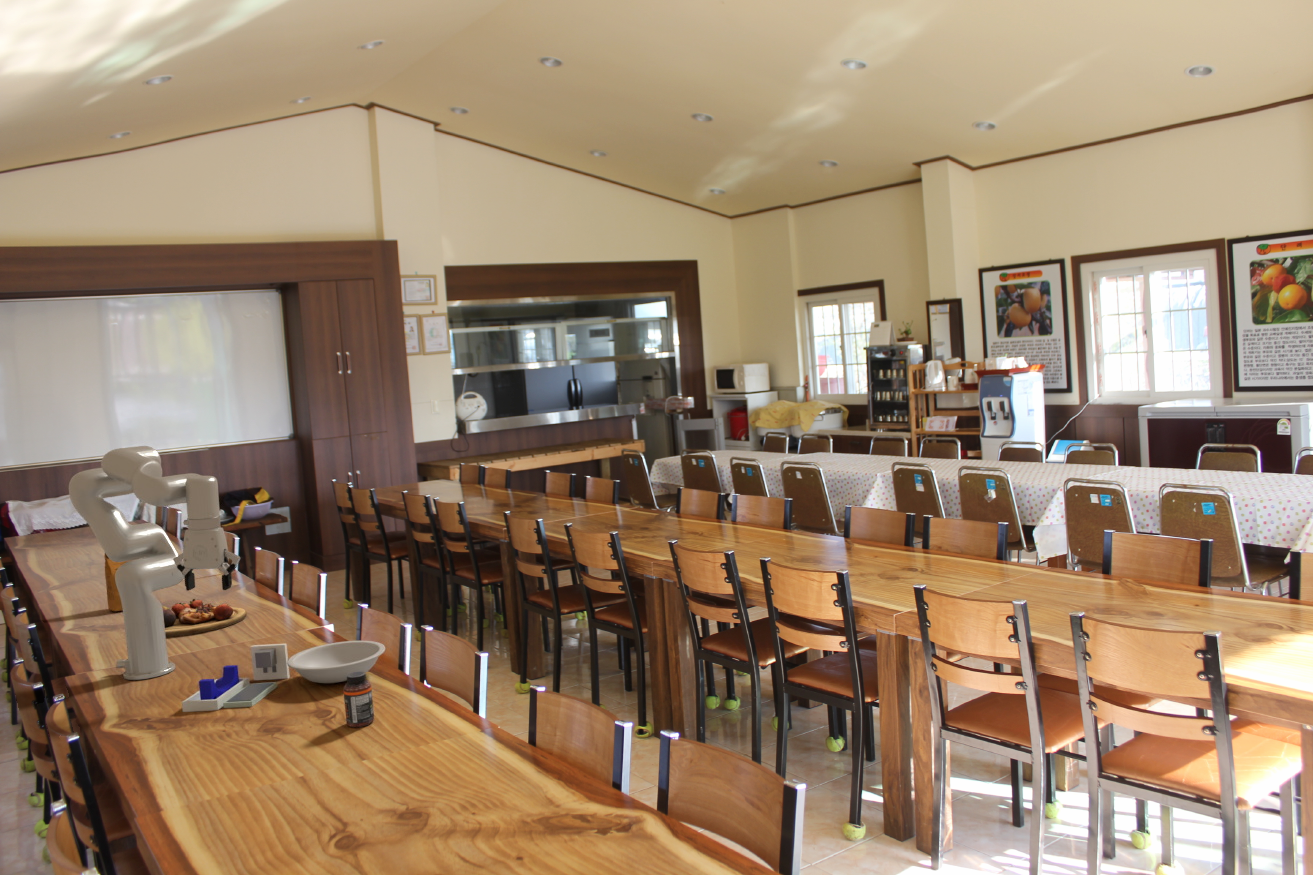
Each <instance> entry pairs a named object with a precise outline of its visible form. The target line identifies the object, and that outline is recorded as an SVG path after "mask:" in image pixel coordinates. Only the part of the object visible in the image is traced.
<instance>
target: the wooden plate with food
mask: <svg viewBox="0 0 1313 875" xmlns="http://www.w3.org/2000/svg"><path fill="white" fill-rule="evenodd" d="M162 608H163V616H164V626H165V636H166V638H169V637H170V638H171V637H180V636H187V635H189V636H190V635H193V634H200V633H205V632H210V631H214V630H218V629H222V628H226V627H229V626H232V625H235V624H237V623H239V622H241V621H243V620H244V619H245V618H247V615H248V614H247V611H246V609H244V608H242V607H233V606H230V605H229V604H227V603H221V604H218V605H212V604H211V602H210V603H205V604H204V602H203V600H201V599H199V598H197V599H195V598H193V599H191V600H190V601H189V603H185V602H179V603H178V602H177V603H175V604H174V605H172V606H171V607H167V606H165V605H162Z"/></svg>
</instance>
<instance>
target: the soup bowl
mask: <svg viewBox="0 0 1313 875" xmlns="http://www.w3.org/2000/svg"><path fill="white" fill-rule="evenodd" d="M385 650H386V647H385V645H384V644H383V643H381V642H378V641H377V642H376V641H374V640H346V641H338V642H332V643H326V644H321V645H317V646H313V647H310V648H307V649H303V650H302V651H299V652H297V653H295V654H292V655H291V656H290V657H288V661H287V664H288V666H289V668H291V669H293V670H295V671H296V672H297V673H298V674H299V675H300V676H301V677H302V678H304V679H306V680H308V681H310V682H313V683H316V684H317V683H318V684H335V683H341V682H342V683H343V682H347V675H348V674H349V673H352V672H357V671H363V672H365V674H366V673H367V672H369V671H370V670H371V669H372V668H373V667H374V665H375V664H376V663H377V661H378V659H379V657H380V656H381V655H383V654H384V652H385Z"/></svg>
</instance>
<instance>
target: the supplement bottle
mask: <svg viewBox="0 0 1313 875" xmlns="http://www.w3.org/2000/svg"><path fill="white" fill-rule="evenodd" d="M366 675H367V674H366V673H365V672H363V671H357V672H352V673H349V674H348V675H347V681H346V683H345V685H344V686H343V689H342V690H343V701H344V708H345V710H344V711H345V721H346V725H347V726H348V727H351V728H362V727H366V726H369V725H370V724H372V723H373V722H374V720H375V714H374V703H373V701H374V700H373V690H372V684H371V682H370V681H369V680H367V676H366Z"/></svg>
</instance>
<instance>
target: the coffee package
mask: <svg viewBox="0 0 1313 875" xmlns="http://www.w3.org/2000/svg"><path fill="white" fill-rule="evenodd" d="M103 558H104V561H105V562H104V576H105V577H104V579H105V584H106V585H105V586H106V587H105V588H106V600H107V607H108V611H112V612H123V608H122V602H121V598H120V595H119V591H118V588H117V585H116V582H115V574H116V571H117V569H118V568H119V567H120V566H121V565H123V564H124V563H127V562H129V561H125V562H114V561H112V560H110V559H109V557H108V556H107V555H106V553H105V552H104V556H103ZM135 560H136V559H135ZM130 561H132V560H130Z"/></svg>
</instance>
